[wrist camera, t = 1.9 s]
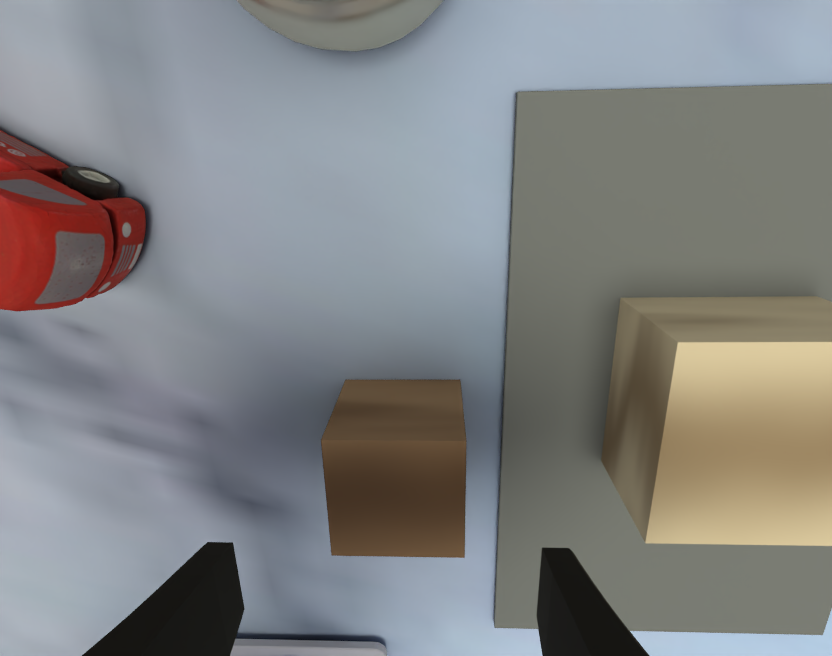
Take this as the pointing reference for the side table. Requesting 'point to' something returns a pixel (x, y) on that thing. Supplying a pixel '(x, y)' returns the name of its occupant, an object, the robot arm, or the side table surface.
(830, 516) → the birch base block
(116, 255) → the toy fire truck
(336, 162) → the side table surface
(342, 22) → the plastic bottle
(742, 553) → the grey flat rectangular panel
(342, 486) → the walnut block
